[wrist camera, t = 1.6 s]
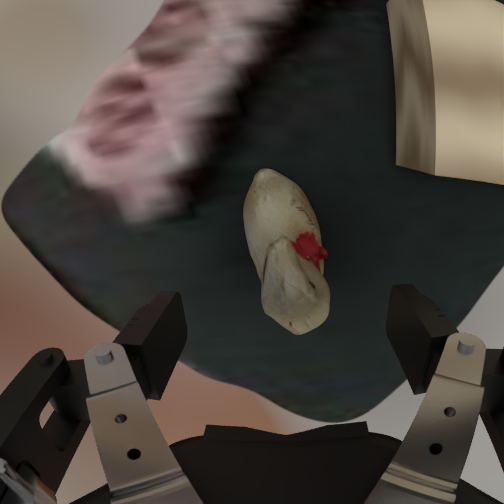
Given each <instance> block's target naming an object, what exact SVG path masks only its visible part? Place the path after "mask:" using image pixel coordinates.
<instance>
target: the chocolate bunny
mask: <svg viewBox="0 0 504 504" xmlns="http://www.w3.org/2000/svg"><path fill="white" fill-rule="evenodd" d="M243 218H244V226H245V233H246V239H247V243H248V247H249V251H250V255H251V257H252V259H253V261H254V263H255V265H256V268H257V273H258V275H259V277H260V280H261V281H262V289H261V300H262V304H263V308H264V311H265V313H266V314H267V315H268V316H270V317H272V318H273V319H274V320H275V321H277V322H278V323H279V324H280V325H282V326H283V327H285V328H286V329H288V330H290V331H291V332H292V333H293V334H298V335H301V334H304V333H307V332H309V331H311V330H312V329H314V328H316V327H318V326H319V325H320V324H322V323H323V322H324V321H325V320H326V318H327V316H328V314H329V304H330V291H329V287H328V284H327V282H326V280H325V278H324V277H323V270H324V259H326V258H327V257H328V252H327V250H326V249H325V247H322V244H321V234H320V228H319V224H318V221H317V218H316V215H315V213H314V210H313V208H312V206H311V204H310V202H309V200H308V198H307V197H306V195H305V193H304V192H303V190H302V189H301V188H300V187H299V186H298V185H297V184H296V183H295V182H293V181H292V180H290V179H288V178H287V177H285V176H283V175H282V174H280V173H278V172H276V171H274V170H272V169H267V168H264V169H260V170H259V171H258V172H257V173H256V174H255V176H254V179H253V182H252V184H251V187H250V189H249V191H248V193H247V195H246V199H245V202H244V209H243Z"/></svg>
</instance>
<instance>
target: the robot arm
mask: <svg viewBox="0 0 504 504" xmlns="http://www.w3.org/2000/svg"><path fill="white" fill-rule="evenodd" d="M386 331H387V336H388V338H389V340H390V342H391V345H392V347H393V349H394V351H395V353H396V355H397V357H398V360H399V362H400V364H401V366H402V368H403V371H404V373H405V375H406V377H407V380H408V382H409V384H410V386H411V389H412V391H413V393H414V395H416V394H422V393H426V394H425V397H424V399H423V401H422V403H421V406H420V408H419V410H418V412H417V414H416V416H415V419H414V421H413V422H412V425H411V427H410V429H409V430H408V432H407V434H406V436H405V438H404V440H403V441H401V440H399V439H396V438H394V437H391V436H388V435H384V434H379V433H373V432H368V427H367V423H366V421H364V422H356V423H346V424H335V425H326V426H323V427H319V428H315V429H311V430H307V431H304V432H299V433H295V434H290V435H282V434H276V433H271V432H266V431H262V430H257V429H252V428H248V427H237V426H219V425H206V428H205V432H204V435H203V436H196V437H191V438H188V439H184V440H181V441H178V442H176V443H173V444H171V445H169V446H168V444H167V442H166V440H165V438H164V436H163V434H162V432H161V430H160V429H159V427H158V424H157V422H156V420H155V418H154V416H153V414H152V412H151V410H150V408H149V406H148V404H147V399H154V400H160V399H161V397H162V395H163V392H164V390H165V388H166V385H167V383H168V381H169V379H170V377H171V374H172V372H173V370H174V368H175V365H176V363H177V361H178V359H179V357H180V354H181V352H182V350H183V348H184V346H185V343H186V340H187V325H186V320H185V315H184V310H183V304H182V299H181V295H180V293H179V292H159V293H158V294H157V296H156V297H155V298H154V299H153V301H152V302H151V303H150V304H147V305H145V306H143V307H142V308H140V309H139V310H137V312H136V313H135V314H134V315H133V317H132V319H130V320H129V322H128V323H127V325H126V326H125V327H124V328H123V329H122V331H121V332H120V333H119V335H118V336H117V337H116V338H115V340H114V341H113V343H103V344H100V345H97V346H95V347H93V348H92V349H90V350H89V351H88V352H87V353H86V355H85V357H84V359H81V360H70V361H67V359H66V357H65V355H64V353H63V351H62V350H61V349H59V348H47V349H44V350H42V351H40V352H38V353H37V354H35V355H34V356H33V357H32V358H31V359H30V360H29V362H28V363H27V364H26V365H25V366H24V368H23V369H22V370H21V371H20V372H19V373H18V374H17V376H16V377H15V378H14V379H13V380H12V382H11V383H10V384H9V385H8V386H7V388H6V389H5V390H4V391H3V393H2V394H1V395H0V504H57V499H56V496H55V494H56V492H57V490H58V488H59V486H60V484H61V481H62V479H63V477H64V475H65V473H66V471H67V468H68V467H69V464H70V462H71V460H72V458H73V456H74V454H75V452H76V450H77V448H78V446H79V444H80V442H81V440H82V438H83V436H84V434H85V432H86V430H87V428H88V426H89V424H90V422H91V425H92V430H93V434H94V437H95V442H96V446H97V449H98V453H99V456H100V460H101V463H102V467H103V470H104V473H105V476H106V479H107V482H108V483H107V484H105V485H103V486H102V487H100V488H98V489H97V490H95V491H93V492H91V493H89V494H87V495H85V496H83V497H81V498H79V499H77V500H75V501H73V502H71V503H69V504H504V503H502V502H500V501H498V500H496V499H495V498H493V497H491V496H489V495H487V494H486V493H484V492H482V491H481V490H479V489H477V488H476V487H474V486H472V485H471V484H469V483H467V482H466V481H464V480H462V479H461V478H460V476H461V474H462V471H463V468H464V465H465V462H466V459H467V456H468V453H469V450H470V446H471V443H472V439H473V436H474V432H475V428H476V424H477V421H478V416H479V414H480V416H481V418H482V421H483V423H484V425H485V427H486V430H487V432H488V434H489V436H490V439H491V441H492V444H493V446H494V449H495V451H496V453H497V456H498V459H499V461H500V463H501V467H502V469H503V472H504V348H503V349H486V347H485V344H484V343H483V341H482V340H481V339H480V338H478V337H477V336H475V335H472V334H468V333H459V331H458V330H457V329H456V327H455V326H454V325H453V324H452V322H451V321H450V320H449V319H448V317H447V316H445V314H444V313H443V311H442V310H440V308H439V306H438V305H437V304H436V303H435V302H434V301H433V300H431V299H430V298H428V297H426V296H424V295H423V296H422V295H421V294H420V293H419V292H418V290H417V289H416V288H415V287H414V286H413V285H412V284H403V285H393V286H392V289H391V293H390V301H389V308H388V314H387V321H386ZM48 401H49V402H50V403H51V405H52V407H53V408H54V411H53V413H52V414H51V416H50V417H49V419H48V421H47V422H46V424H45V425H44V427H43V429H42V428H41V426H40V422H39V417H40V414H41V412H42V410H43V408H44V407H45V406H46V404H47V403H48Z"/></svg>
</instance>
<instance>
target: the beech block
mask: <svg viewBox="0 0 504 504" xmlns="http://www.w3.org/2000/svg"><path fill="white" fill-rule="evenodd" d="M386 7H387V13H388V20H389V27H390V34H391V43H392V52H393V63H394V76H395V94H396V165H398V166H402V167H406V168H410V169H414V170H418V171H421V172H425V173H429V174H432V175H437V176H446V177H454V178H462V179H469V180H476V181H483V182H489V183H496V184H502V185H504V5H503V4H501V3H499V2H497V1H495V0H389V1H388V2H387V4H386Z"/></svg>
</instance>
